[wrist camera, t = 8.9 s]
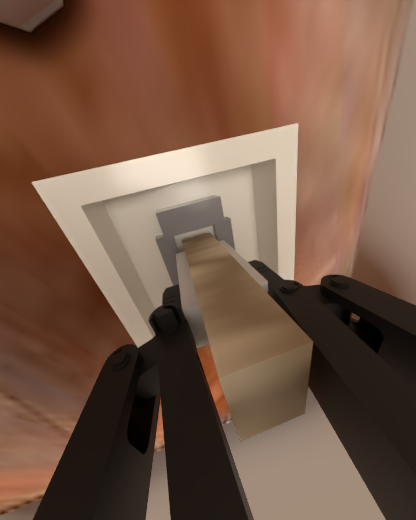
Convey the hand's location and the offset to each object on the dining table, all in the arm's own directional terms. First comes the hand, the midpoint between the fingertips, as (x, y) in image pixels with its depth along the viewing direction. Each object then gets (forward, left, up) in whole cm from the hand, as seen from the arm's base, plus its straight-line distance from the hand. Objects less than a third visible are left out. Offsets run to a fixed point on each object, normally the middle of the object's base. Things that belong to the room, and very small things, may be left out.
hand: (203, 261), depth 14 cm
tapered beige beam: (0, 0, -1) cm, 1 cm away
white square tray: (0, 0, -4) cm, 4 cm away
